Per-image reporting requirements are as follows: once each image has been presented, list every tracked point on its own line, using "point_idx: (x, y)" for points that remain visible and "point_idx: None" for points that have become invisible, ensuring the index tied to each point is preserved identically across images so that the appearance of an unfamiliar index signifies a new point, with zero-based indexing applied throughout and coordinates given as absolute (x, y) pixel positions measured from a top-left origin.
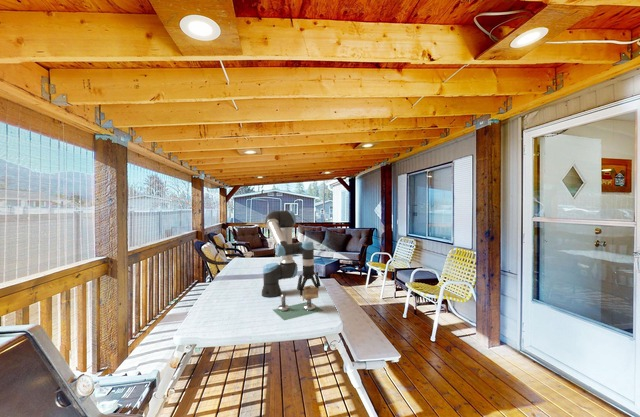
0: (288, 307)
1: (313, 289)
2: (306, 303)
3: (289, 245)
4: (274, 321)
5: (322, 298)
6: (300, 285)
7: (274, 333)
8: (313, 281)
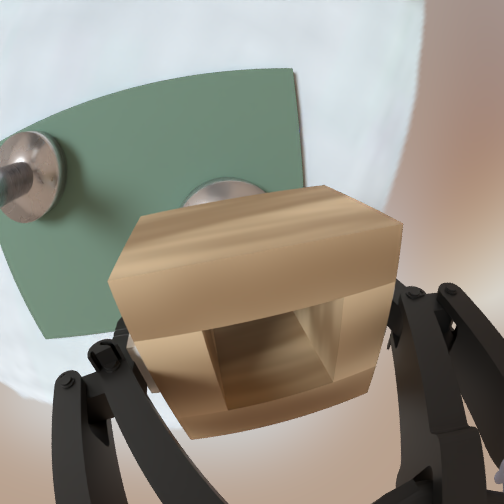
0: (52, 202)
1: (301, 415)
2: (248, 100)
3: None
4: (6, 315)
5: (399, 66)
6: (111, 471)
7: (37, 398)
8: (402, 429)
